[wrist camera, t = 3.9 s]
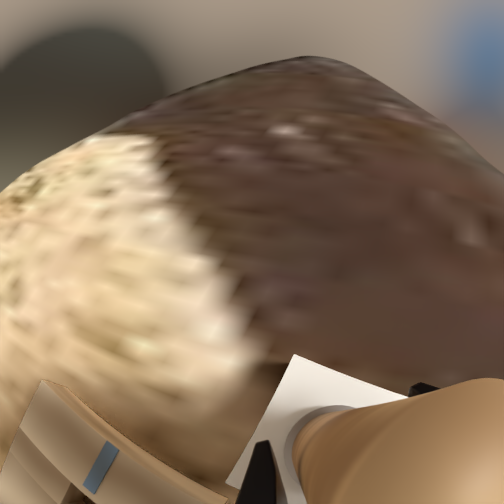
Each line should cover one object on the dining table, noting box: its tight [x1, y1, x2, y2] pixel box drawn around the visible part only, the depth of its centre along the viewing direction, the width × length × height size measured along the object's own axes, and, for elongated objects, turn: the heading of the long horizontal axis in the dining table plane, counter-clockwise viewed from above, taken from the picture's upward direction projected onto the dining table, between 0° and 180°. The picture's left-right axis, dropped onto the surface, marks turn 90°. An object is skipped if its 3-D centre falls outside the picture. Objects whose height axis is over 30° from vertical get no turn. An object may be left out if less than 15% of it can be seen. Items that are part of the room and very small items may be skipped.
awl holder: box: [225, 354, 408, 504], centre depth 12 cm, size 7×7×2 cm
